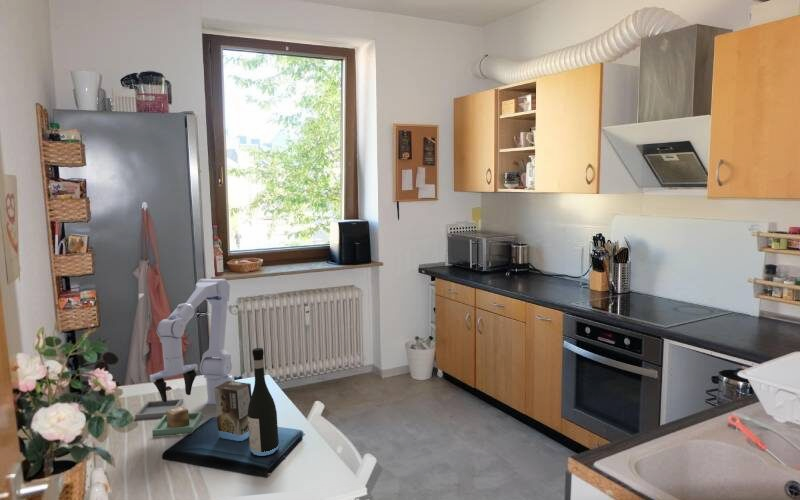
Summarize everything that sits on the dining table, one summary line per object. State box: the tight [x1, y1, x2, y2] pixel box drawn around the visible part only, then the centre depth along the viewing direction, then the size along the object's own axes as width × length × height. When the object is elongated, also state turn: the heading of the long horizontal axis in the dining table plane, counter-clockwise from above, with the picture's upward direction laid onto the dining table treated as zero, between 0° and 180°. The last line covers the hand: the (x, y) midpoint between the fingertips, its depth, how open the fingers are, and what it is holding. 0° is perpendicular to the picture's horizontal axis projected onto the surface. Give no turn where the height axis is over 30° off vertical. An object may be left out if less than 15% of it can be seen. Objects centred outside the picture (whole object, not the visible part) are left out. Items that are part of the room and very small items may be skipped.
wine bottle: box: [248, 347, 280, 452], centre depth 155 cm, size 8×8×30 cm
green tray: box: [151, 411, 203, 438], centre depth 176 cm, size 12×12×2 cm
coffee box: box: [214, 381, 252, 435], centre depth 167 cm, size 9×6×16 cm
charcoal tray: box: [134, 398, 184, 420], centre depth 189 cm, size 12×12×2 cm
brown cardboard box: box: [166, 405, 190, 428], centre depth 176 cm, size 5×5×5 cm
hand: (176, 397), depth 176 cm, fingers open, 7 cm apart
